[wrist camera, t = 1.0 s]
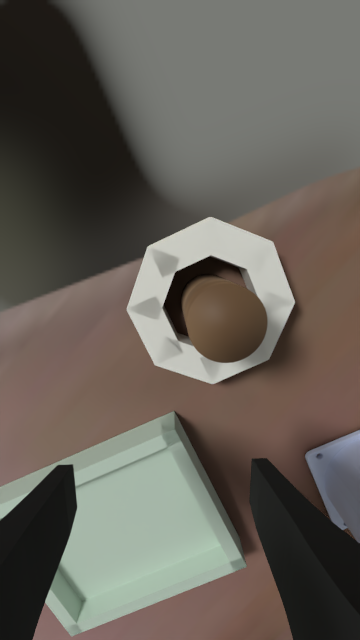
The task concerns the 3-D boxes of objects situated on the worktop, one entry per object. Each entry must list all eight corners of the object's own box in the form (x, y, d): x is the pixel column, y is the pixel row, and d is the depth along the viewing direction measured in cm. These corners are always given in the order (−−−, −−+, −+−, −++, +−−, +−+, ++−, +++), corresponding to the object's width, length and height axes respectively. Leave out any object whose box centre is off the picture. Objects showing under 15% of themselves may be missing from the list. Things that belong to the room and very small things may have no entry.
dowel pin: (221, 265, 19) (250, 270, 13) (241, 313, 20) (279, 343, 13) (172, 287, 20) (174, 305, 13) (193, 334, 20) (206, 375, 13)
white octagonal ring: (246, 201, 18) (255, 194, 17) (296, 333, 21) (309, 341, 19) (111, 265, 19) (104, 266, 17) (172, 388, 21) (173, 401, 19)
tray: (174, 410, 22) (174, 429, 19) (239, 537, 24) (246, 566, 22) (-4, 488, 22) (-23, 514, 20) (79, 602, 25) (71, 636, 23)
